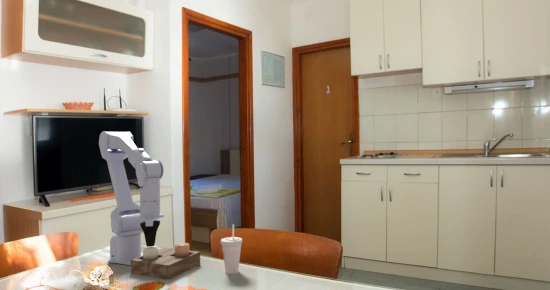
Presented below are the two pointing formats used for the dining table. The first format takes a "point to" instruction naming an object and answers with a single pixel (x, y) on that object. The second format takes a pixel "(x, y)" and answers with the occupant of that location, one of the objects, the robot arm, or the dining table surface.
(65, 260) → the dining table surface
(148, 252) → the knob cream
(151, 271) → the wooden egg crate
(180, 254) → the peach egg
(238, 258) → the smoothie
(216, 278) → the dining table surface
